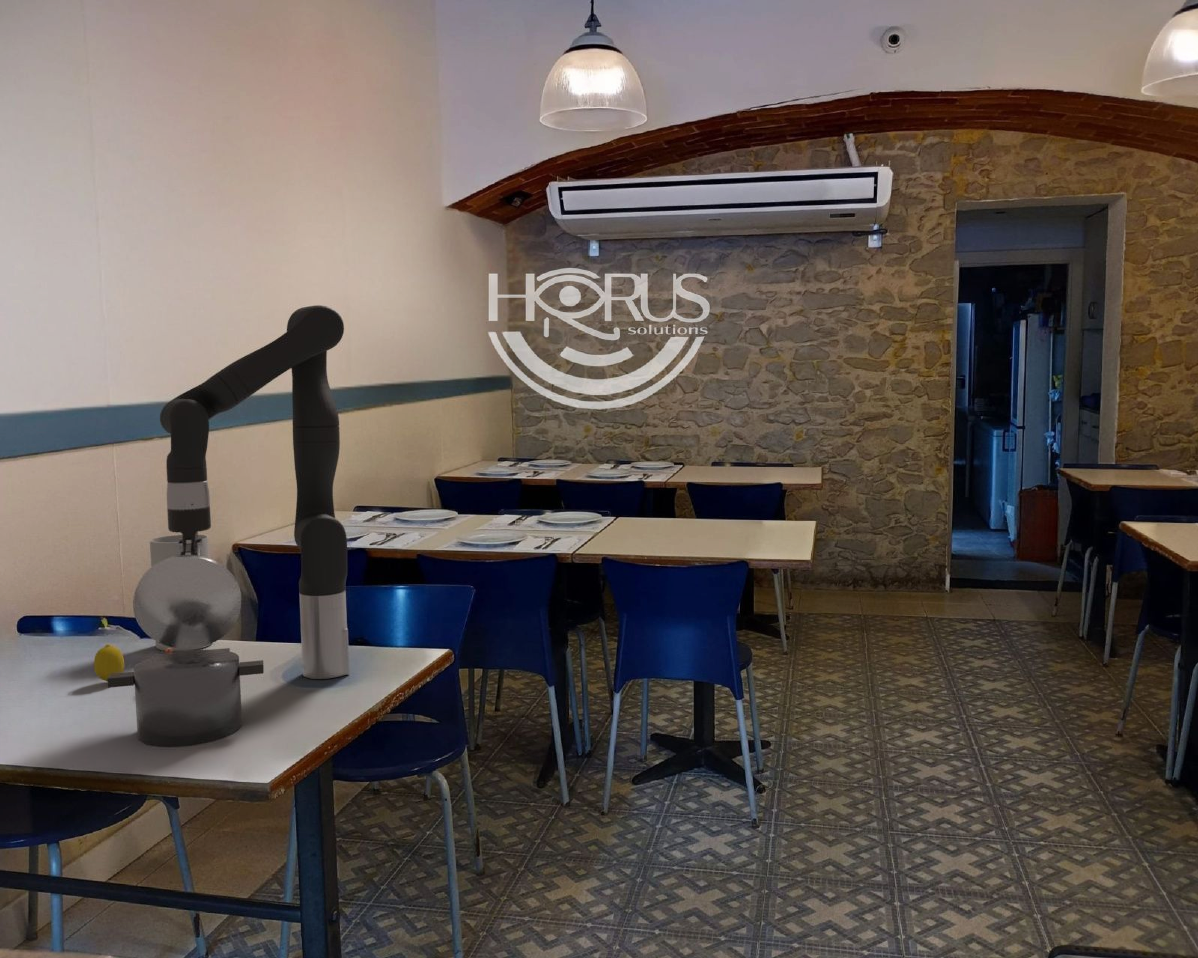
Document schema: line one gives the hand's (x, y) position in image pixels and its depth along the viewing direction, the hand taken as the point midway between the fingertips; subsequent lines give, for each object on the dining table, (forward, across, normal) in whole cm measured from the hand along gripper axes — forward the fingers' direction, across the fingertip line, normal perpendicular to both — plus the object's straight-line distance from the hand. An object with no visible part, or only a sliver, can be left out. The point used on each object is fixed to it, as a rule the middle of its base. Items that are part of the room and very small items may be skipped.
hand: (193, 595), depth 197 cm
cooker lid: (-1, -12, 0) cm, 12 cm away
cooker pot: (+20, -19, 0) cm, 27 cm away
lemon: (+20, +17, +18) cm, 32 cm away
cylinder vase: (+20, +44, +6) cm, 49 cm away
